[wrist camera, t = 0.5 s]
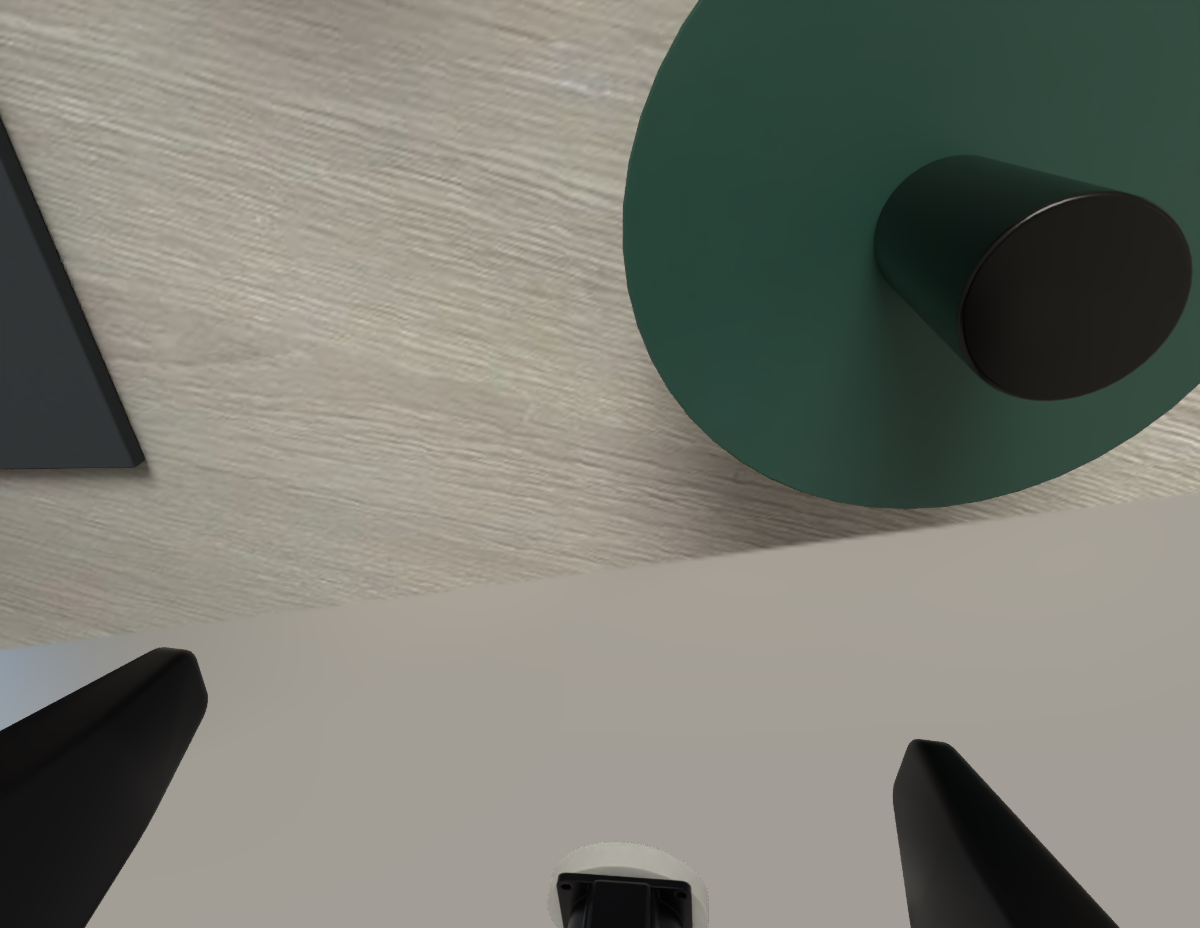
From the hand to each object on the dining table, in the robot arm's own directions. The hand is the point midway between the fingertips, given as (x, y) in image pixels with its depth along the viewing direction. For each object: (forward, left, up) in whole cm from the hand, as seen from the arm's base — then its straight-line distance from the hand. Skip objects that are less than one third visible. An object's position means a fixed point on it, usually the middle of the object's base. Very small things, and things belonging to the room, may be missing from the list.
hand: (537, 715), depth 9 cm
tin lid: (+4, -6, -7) cm, 11 cm away
